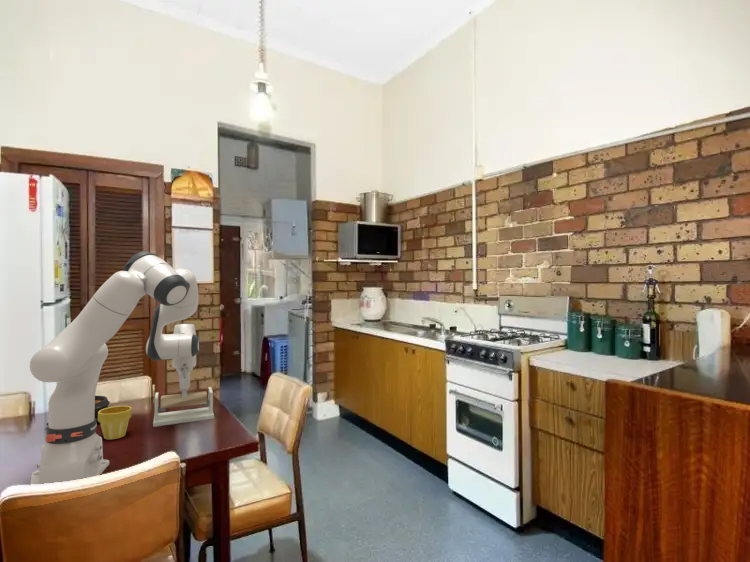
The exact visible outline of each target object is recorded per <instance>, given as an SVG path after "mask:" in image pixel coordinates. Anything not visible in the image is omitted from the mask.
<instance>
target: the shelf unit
mask: <svg viewBox="0 0 750 562" xmlns="http://www.w3.org/2000/svg"><path fill="white" fill-rule="evenodd" d="M207 392H208V395H207V396H208V398H207V403H205V404H201V407H198V408H191V409H190V408H189V409H183V410H176V411H175V410H174V411H168V412H166V411H167V408H161V405H159V391H158V392H157V391H156V392H155V395H154V414H153V415H154V416H153V421H152V426H153V427H154V428H155V427H161V426H171V425H175V424H177V425H178V424H182V423H190V422H199V421H206V420H213V419H214V420H215V414H214V392H213V389H212V386H208V390H207Z"/></svg>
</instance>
